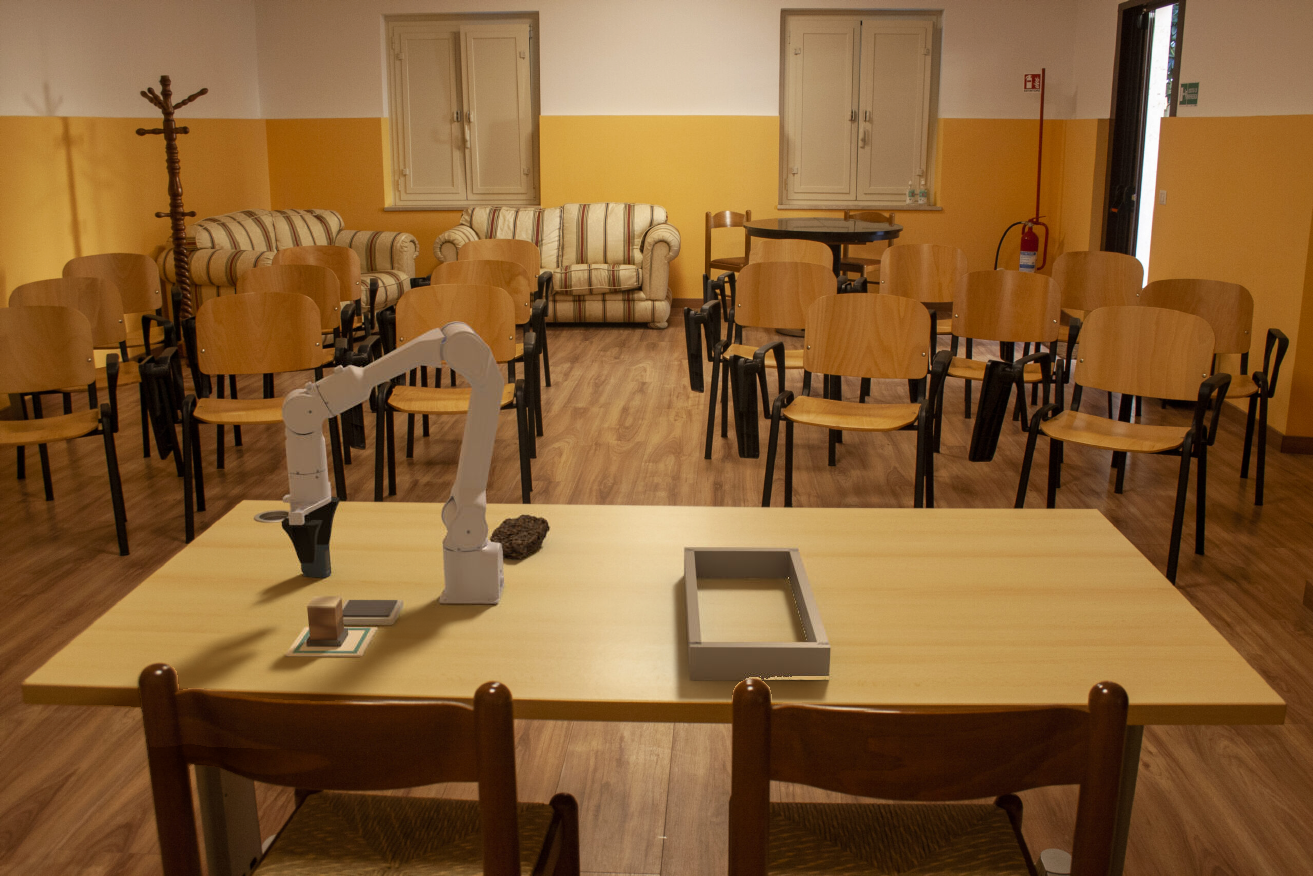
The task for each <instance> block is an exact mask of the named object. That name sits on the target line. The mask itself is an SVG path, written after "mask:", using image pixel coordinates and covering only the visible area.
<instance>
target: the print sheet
mask: <svg viewBox="0 0 1313 876" xmlns="http://www.w3.org/2000/svg"><path fill="white" fill-rule="evenodd" d="M344 628H348V636H347V638H346V639H345V641H344V643H343V644H342V646H341V647H307V645H306V640H307V638H308V637H309V635H310V634H309V626H304V627H303V629H302V630H301V632H300V633H299V634H298V636H297V637H296V639H295V640H294V642H292V644H291V646H290V648H289V649H287V652H286V653H285V657H351V658H352V657H355V658H356V657H363V656H364V654H365V653H366V650H367V649H368V647H369V645H370V644H371V642H372V640H373V638H374V637H375V634H376V633H377V631H378V629H379V628H378V627H377V626H375V627H374V626H372V627H365V626H363V627H362V626H361V627H360V626H359V627H358V626H355V627H354V626H353V627H352V626H344Z"/></svg>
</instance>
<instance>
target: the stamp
mask: <svg viewBox="0 0 1313 876" xmlns="http://www.w3.org/2000/svg"><path fill="white" fill-rule="evenodd" d="M342 600H343V599H342V596H341V595H339V596H338V595H335V596H334V595H329V596H328V595H327V596H325V595H324V596H323V595H321V596H320V595H317V596H316V595H314V596H313V598H311V600H310V601H309V603H308V604H307V606H306V611H307V620H308V627H309V634H310V635H309V637H308V638H307V640H306V645H307V647H341V646H342V644H343V643H344V641H345V639H346V638H347V636H348V628H344V627H345V625H344V622H343V609H342V606H343V601H342Z"/></svg>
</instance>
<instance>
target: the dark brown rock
mask: <svg viewBox="0 0 1313 876" xmlns="http://www.w3.org/2000/svg"><path fill="white" fill-rule="evenodd" d="M550 528H551V527H550V525H549V522H548V520H547V519H546V518H544V517H542V516H541V517H537V516H534V515H533V516H532V515H531V514H520V515H519V516H518V517H515V518H510V517H509V518H505V519H504V520H503V521H502V522H501V523H500V525H499V526H498V527H496V528H495V529H494V530H493V532H492V534H491V536H490V537H489V541H491V542H495V543H501V544H502V550H503V558H506V559H510V560H516V559H522V558H524V557H526V556H528V555H530V553H532V552H534V551H535V550H537V549H539V548H541V547H542V545H543V542H544V540H545V539H546V538H547V535H548V532H549V531H550Z"/></svg>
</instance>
